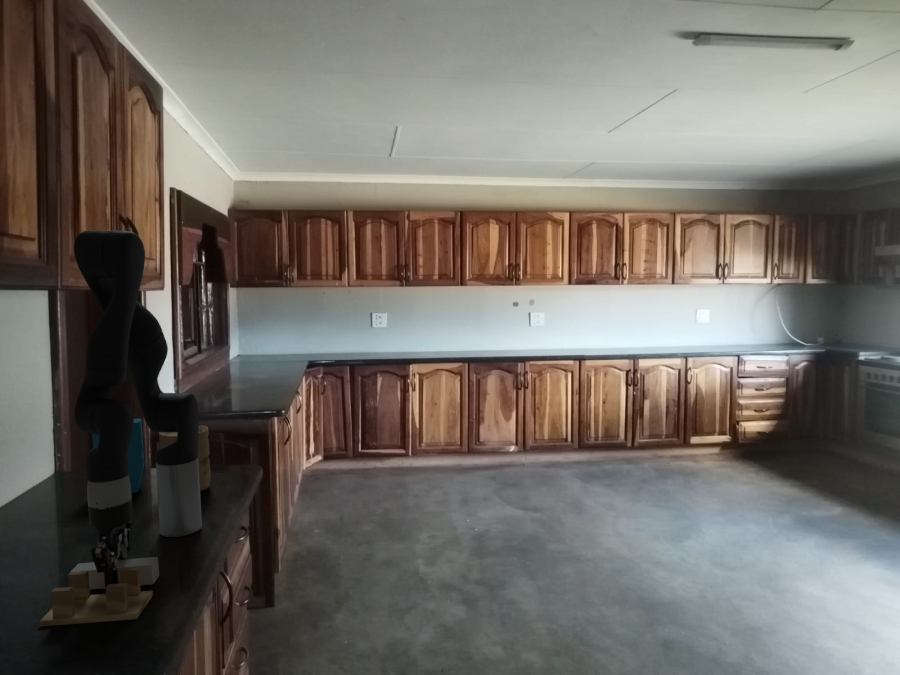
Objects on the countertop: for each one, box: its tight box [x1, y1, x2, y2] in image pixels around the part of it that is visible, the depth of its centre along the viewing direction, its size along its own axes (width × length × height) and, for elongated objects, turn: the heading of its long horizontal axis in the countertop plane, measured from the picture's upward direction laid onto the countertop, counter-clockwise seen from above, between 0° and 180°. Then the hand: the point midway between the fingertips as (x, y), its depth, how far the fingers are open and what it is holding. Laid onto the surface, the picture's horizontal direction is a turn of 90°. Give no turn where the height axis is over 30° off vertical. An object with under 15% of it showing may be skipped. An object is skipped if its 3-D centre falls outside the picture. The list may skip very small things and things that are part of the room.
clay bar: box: [70, 556, 160, 590], centre depth 121 cm, size 4×15×4 cm, turn 97°
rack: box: [39, 567, 154, 627], centre depth 111 cm, size 8×16×6 cm, turn 97°
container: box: [158, 425, 212, 492], centre depth 170 cm, size 13×13×18 cm
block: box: [91, 418, 145, 494], centre depth 171 cm, size 12×5×20 cm, turn 113°
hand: (116, 582), depth 121 cm, fingers closed on clay bar, 3 cm apart
